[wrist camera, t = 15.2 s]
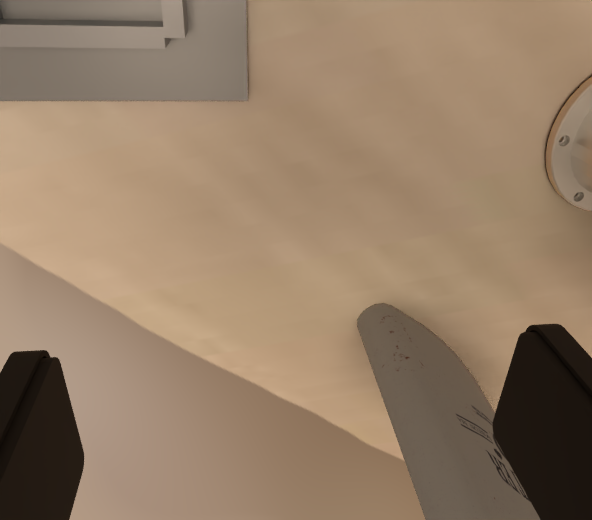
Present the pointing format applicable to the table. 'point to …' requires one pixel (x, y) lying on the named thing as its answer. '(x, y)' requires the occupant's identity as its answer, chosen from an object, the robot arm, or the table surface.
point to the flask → (440, 422)
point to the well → (123, 50)
